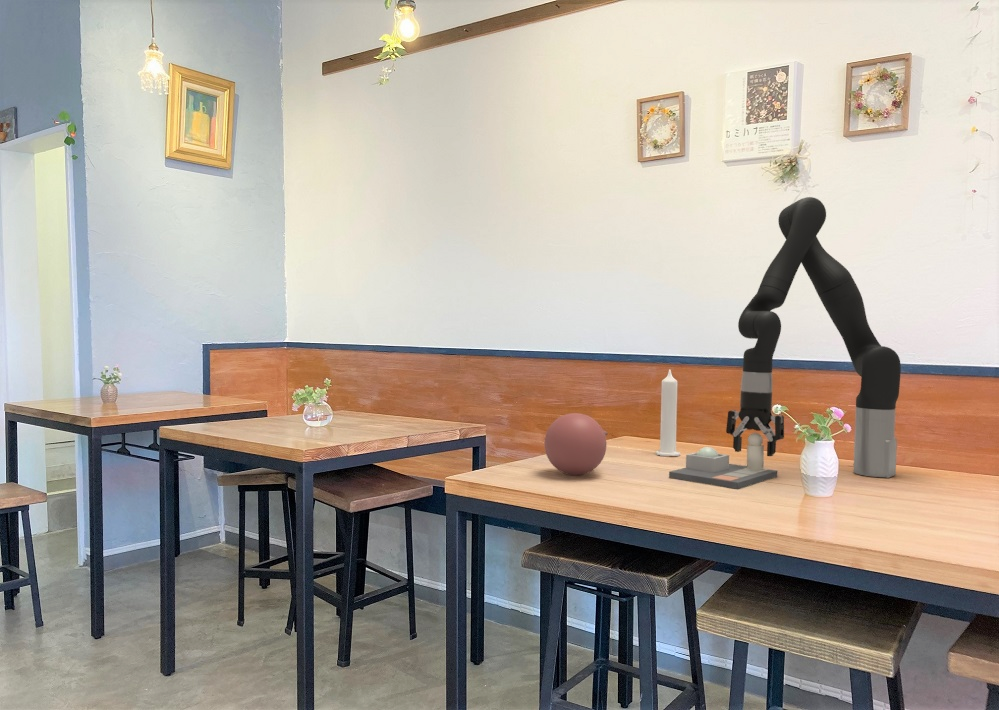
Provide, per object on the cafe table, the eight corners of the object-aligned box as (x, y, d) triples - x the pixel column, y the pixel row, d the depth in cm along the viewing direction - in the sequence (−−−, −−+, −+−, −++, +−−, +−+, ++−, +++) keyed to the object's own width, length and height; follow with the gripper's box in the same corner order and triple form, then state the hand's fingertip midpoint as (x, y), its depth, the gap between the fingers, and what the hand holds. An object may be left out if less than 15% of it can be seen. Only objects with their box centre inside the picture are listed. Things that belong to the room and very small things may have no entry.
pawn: (766, 469, 192) (766, 432, 192) (758, 471, 189) (758, 434, 189) (751, 467, 195) (751, 431, 194) (743, 469, 192) (744, 432, 192)
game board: (777, 476, 191) (777, 456, 191) (738, 489, 175) (738, 467, 175) (711, 466, 203) (712, 448, 203) (669, 477, 187) (669, 457, 187)
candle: (654, 456, 219) (657, 369, 218) (655, 452, 226) (657, 368, 225) (680, 457, 217) (682, 370, 216) (680, 453, 224) (682, 369, 223)
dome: (722, 468, 192) (722, 447, 192) (712, 471, 188) (712, 449, 188) (702, 465, 196) (703, 444, 196) (692, 468, 192) (693, 446, 192)
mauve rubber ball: (630, 474, 191) (632, 413, 191) (575, 483, 178) (576, 418, 178) (586, 464, 203) (587, 407, 202) (531, 473, 190) (532, 412, 190)
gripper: (790, 391, 189) (787, 456, 190) (736, 387, 199) (734, 448, 200) (777, 393, 184) (774, 459, 185) (723, 388, 194) (720, 451, 194)
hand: (753, 453), depth 192 cm, fingers open, 8 cm apart
